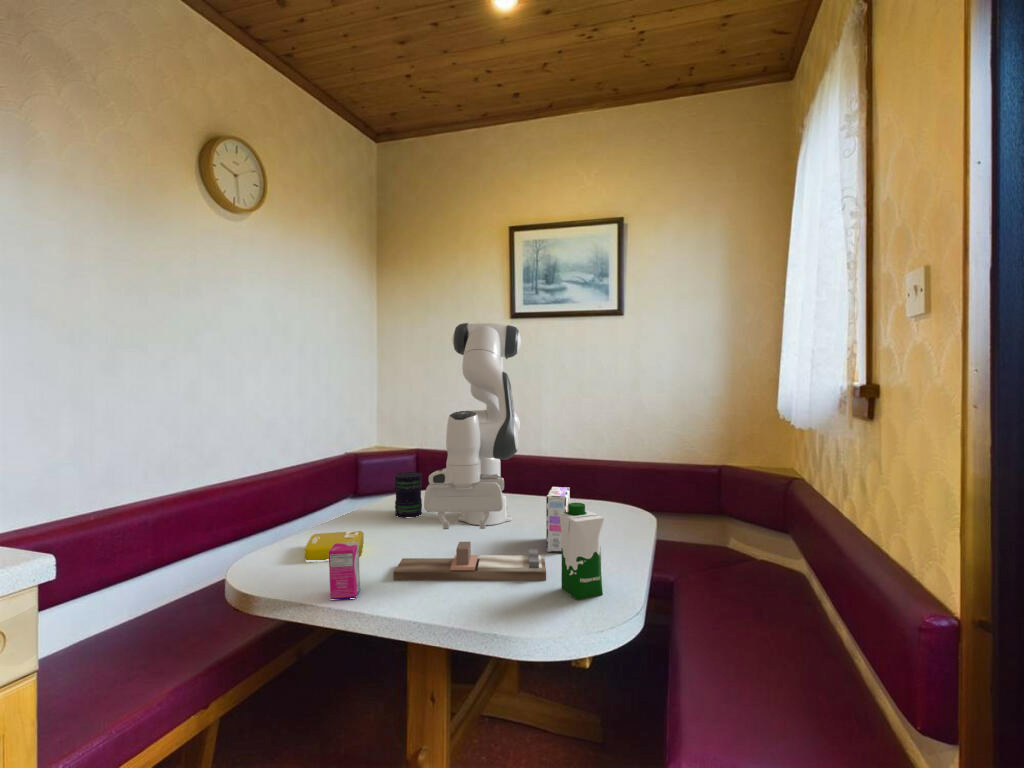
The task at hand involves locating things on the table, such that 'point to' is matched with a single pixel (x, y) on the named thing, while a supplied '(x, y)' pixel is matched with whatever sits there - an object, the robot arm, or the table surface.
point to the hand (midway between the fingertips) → (464, 528)
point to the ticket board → (484, 570)
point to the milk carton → (581, 552)
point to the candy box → (555, 516)
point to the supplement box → (344, 570)
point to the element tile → (330, 543)
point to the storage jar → (408, 494)
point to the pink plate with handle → (464, 557)
